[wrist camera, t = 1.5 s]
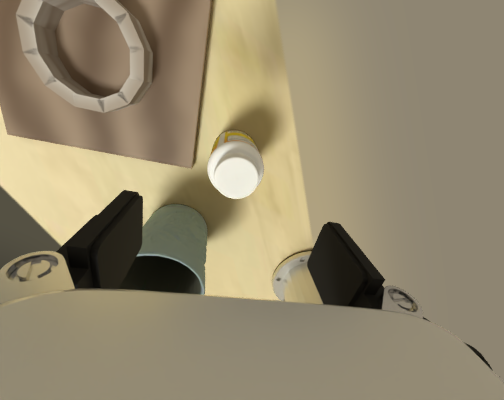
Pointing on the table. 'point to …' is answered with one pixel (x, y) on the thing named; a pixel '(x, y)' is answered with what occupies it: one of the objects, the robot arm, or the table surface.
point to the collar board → (105, 74)
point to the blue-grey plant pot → (170, 253)
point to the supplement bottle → (235, 165)
